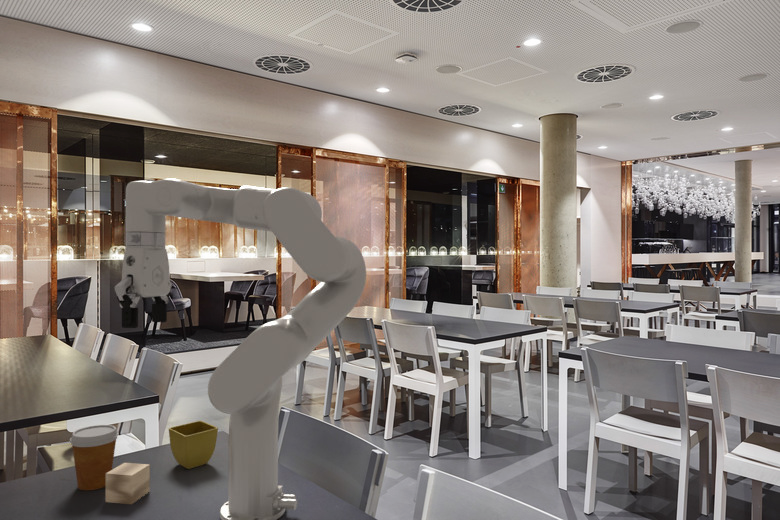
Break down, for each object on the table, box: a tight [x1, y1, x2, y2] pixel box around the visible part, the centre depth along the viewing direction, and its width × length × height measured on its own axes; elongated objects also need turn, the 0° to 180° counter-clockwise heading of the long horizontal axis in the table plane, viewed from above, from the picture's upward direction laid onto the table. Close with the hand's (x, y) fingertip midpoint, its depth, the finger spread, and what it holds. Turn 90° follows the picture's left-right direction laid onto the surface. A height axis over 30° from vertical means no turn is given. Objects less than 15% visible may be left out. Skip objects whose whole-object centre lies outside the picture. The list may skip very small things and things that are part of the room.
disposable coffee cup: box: [69, 424, 119, 491], centre depth 119 cm, size 10×10×12 cm
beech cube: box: [105, 462, 151, 505], centre depth 113 cm, size 6×6×6 cm
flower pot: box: [168, 420, 219, 470], centre depth 131 cm, size 9×9×9 cm
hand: (145, 324), depth 110 cm, fingers open, 9 cm apart
